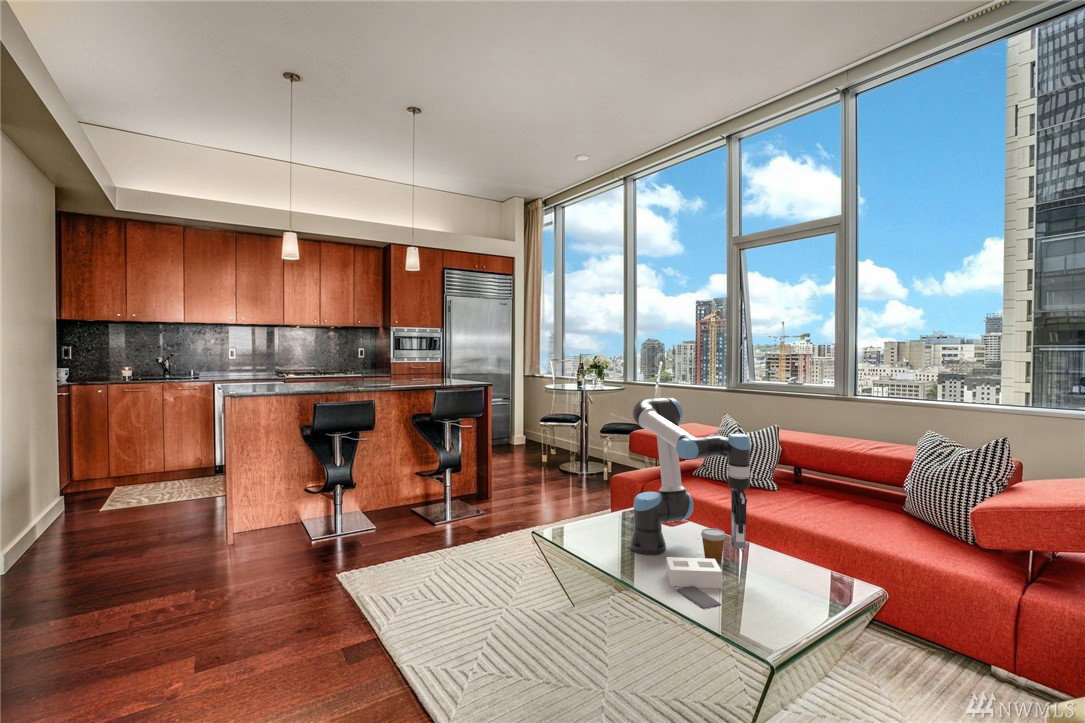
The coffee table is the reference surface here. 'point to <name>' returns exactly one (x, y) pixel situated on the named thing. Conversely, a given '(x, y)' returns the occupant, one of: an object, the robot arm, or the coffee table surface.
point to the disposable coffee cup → (713, 543)
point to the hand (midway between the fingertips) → (738, 539)
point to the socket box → (694, 572)
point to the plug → (733, 541)
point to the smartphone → (698, 597)
